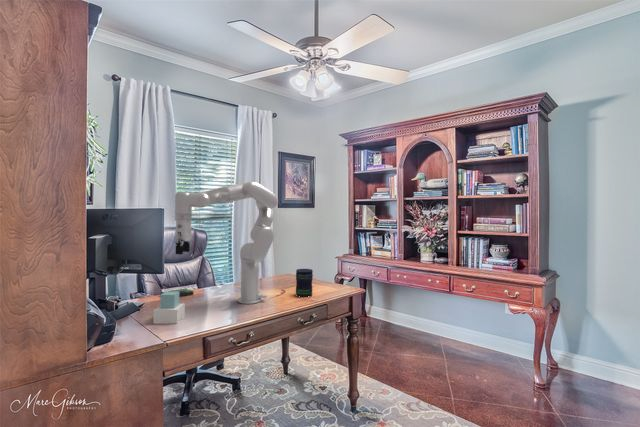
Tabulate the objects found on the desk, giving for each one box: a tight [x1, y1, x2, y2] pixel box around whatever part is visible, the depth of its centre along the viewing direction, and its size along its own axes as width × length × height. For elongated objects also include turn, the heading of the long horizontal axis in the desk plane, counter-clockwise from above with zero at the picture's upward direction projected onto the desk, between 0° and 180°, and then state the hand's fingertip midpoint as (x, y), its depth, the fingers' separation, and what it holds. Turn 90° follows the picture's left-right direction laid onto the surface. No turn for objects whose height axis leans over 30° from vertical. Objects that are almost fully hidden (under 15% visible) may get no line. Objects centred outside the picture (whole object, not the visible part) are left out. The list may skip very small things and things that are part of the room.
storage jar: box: [295, 268, 314, 298], centre depth 197 cm, size 10×10×15 cm
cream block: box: [152, 302, 186, 325], centre depth 150 cm, size 10×10×6 cm
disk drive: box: [160, 288, 194, 298], centre depth 192 cm, size 10×3×15 cm
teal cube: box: [159, 290, 180, 308], centre depth 150 cm, size 6×6×6 cm
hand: (182, 252), depth 163 cm, fingers open, 9 cm apart
